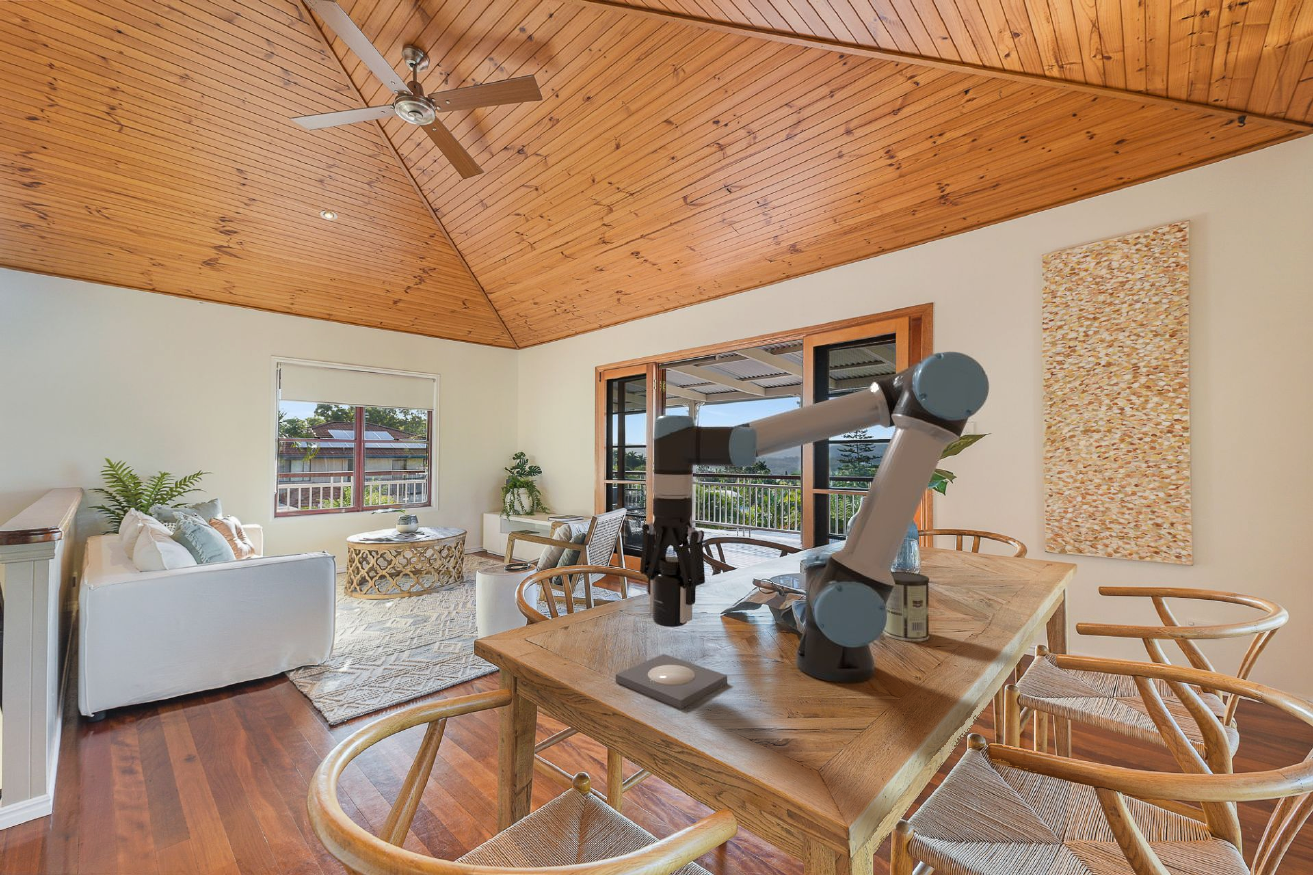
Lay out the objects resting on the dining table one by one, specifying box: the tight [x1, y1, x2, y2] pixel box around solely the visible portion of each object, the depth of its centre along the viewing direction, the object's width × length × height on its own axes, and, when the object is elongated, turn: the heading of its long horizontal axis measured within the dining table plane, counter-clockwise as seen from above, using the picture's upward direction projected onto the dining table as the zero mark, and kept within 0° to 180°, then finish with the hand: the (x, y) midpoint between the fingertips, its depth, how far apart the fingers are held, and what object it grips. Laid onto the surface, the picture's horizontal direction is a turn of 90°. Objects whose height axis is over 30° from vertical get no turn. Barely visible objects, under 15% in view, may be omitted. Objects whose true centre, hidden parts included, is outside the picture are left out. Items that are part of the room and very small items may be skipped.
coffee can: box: [882, 571, 930, 643], centre depth 135 cm, size 10×10×14 cm
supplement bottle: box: [652, 556, 688, 628], centre depth 107 cm, size 7×7×12 cm
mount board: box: [615, 653, 728, 710], centre depth 107 cm, size 16×14×2 cm
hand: (670, 616), depth 107 cm, fingers closed on supplement bottle, 7 cm apart
